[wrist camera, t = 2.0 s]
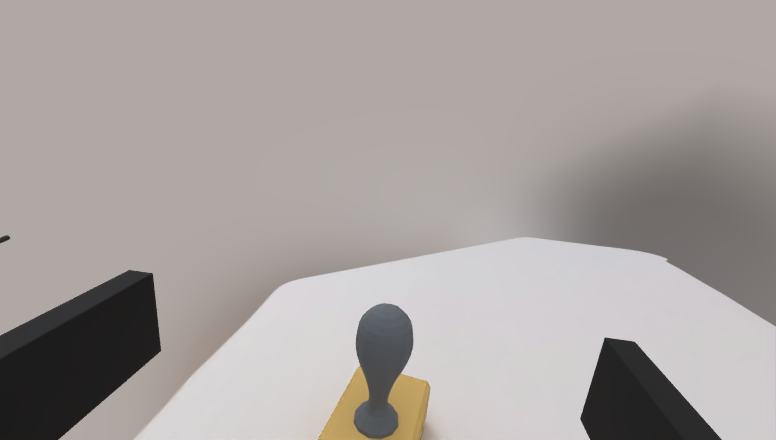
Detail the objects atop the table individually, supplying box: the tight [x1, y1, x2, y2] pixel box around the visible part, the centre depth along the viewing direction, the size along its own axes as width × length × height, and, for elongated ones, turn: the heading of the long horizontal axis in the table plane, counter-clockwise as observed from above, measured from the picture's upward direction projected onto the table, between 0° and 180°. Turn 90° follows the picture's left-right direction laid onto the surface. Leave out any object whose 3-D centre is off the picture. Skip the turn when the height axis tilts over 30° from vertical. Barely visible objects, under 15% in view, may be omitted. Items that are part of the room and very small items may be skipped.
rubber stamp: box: [318, 303, 430, 440], centre depth 23 cm, size 10×6×12 cm, turn 164°
